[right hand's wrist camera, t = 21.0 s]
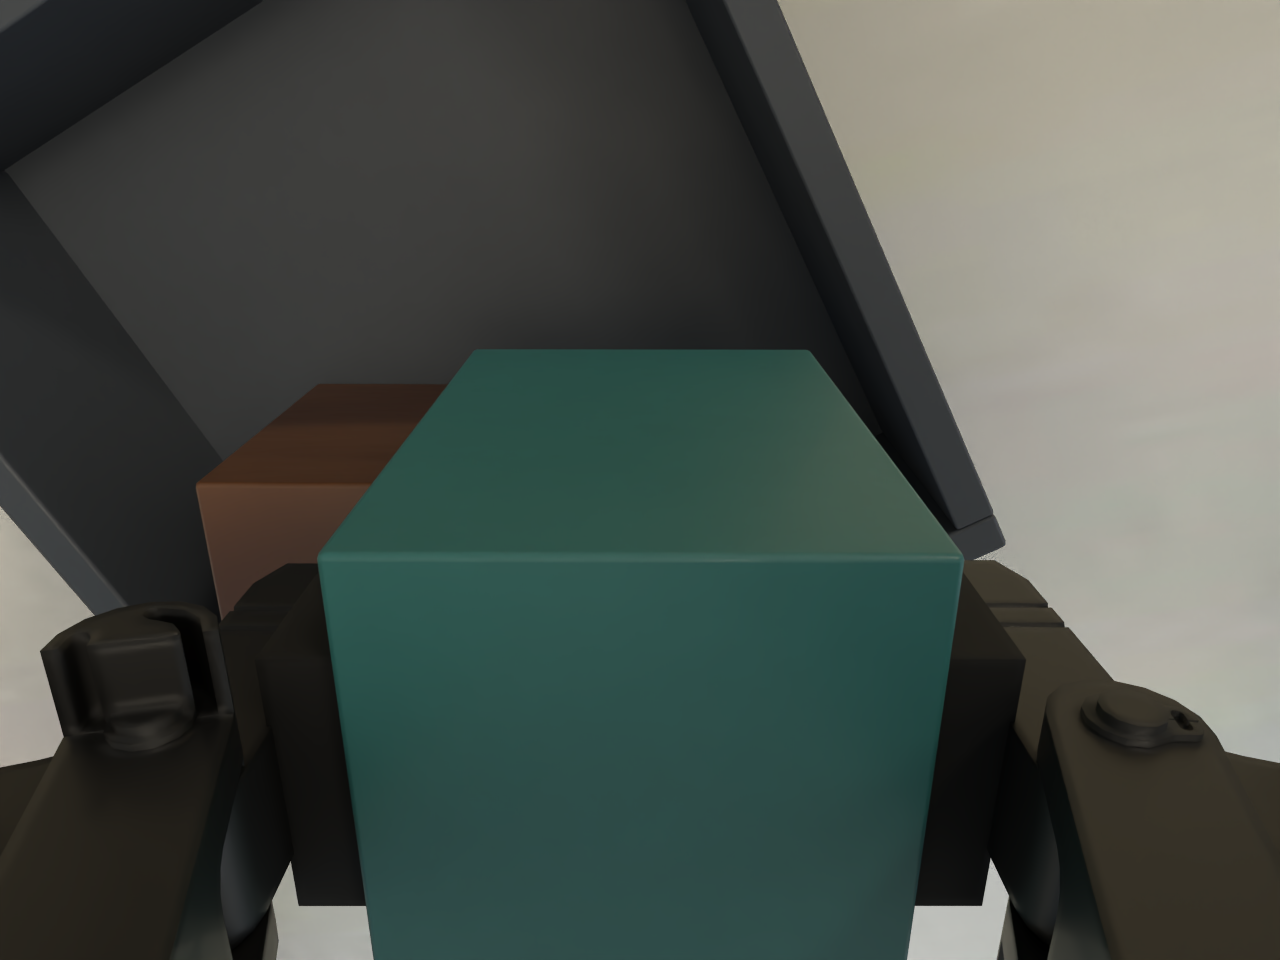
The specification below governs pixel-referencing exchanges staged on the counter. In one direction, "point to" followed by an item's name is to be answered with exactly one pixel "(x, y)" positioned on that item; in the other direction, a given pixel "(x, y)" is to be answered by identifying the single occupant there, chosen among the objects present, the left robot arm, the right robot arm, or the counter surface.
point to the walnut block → (301, 478)
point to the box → (402, 236)
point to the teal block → (640, 665)
